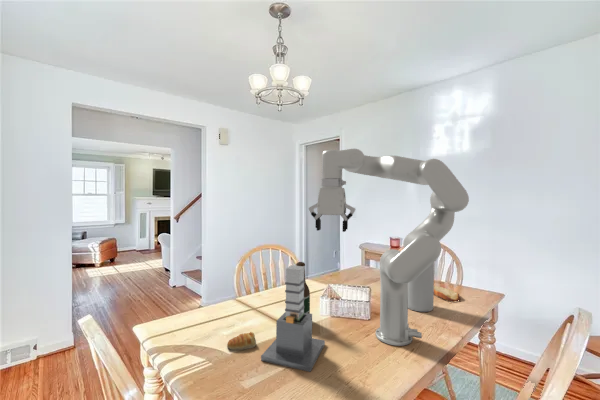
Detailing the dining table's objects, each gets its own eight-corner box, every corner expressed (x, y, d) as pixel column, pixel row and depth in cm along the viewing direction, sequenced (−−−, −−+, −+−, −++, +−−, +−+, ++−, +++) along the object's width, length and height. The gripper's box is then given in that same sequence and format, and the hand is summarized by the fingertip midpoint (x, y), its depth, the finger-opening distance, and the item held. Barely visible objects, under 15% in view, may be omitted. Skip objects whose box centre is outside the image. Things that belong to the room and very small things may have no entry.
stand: (324, 344, 97) (325, 306, 97) (310, 371, 82) (310, 327, 82) (281, 336, 102) (282, 300, 102) (261, 360, 87) (261, 318, 87)
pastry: (229, 354, 91) (229, 342, 91) (225, 344, 97) (225, 333, 97) (257, 347, 95) (257, 336, 95) (251, 338, 101) (251, 328, 101)
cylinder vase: (427, 302, 137) (428, 251, 136) (437, 313, 124) (438, 256, 124) (401, 301, 138) (401, 250, 138) (408, 311, 126) (409, 255, 125)
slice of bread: (427, 287, 161) (427, 280, 161) (463, 294, 150) (463, 287, 150) (418, 296, 147) (419, 289, 147) (458, 304, 136) (458, 296, 136)
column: (304, 320, 94) (304, 266, 93) (299, 327, 89) (299, 270, 89) (290, 318, 95) (291, 265, 95) (284, 324, 91) (285, 268, 90)
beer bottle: (308, 326, 110) (308, 265, 110) (288, 324, 112) (289, 264, 112) (311, 318, 118) (311, 261, 118) (293, 316, 120) (293, 260, 119)
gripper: (357, 184, 104) (356, 230, 105) (312, 184, 110) (311, 228, 111) (353, 183, 97) (353, 233, 98) (306, 183, 103) (305, 230, 103)
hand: (331, 230), depth 104 cm, fingers open, 9 cm apart
